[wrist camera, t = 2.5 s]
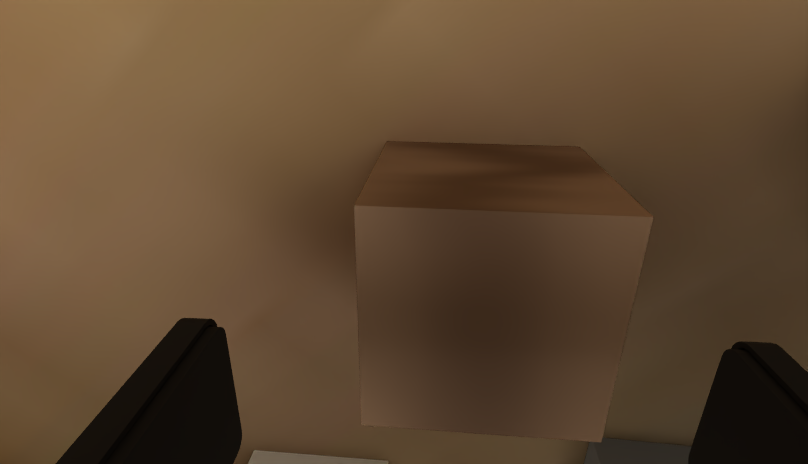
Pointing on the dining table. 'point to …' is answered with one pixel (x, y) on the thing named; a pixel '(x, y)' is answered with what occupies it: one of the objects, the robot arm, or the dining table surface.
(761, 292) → the dining table surface
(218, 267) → the dining table surface
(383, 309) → the walnut cube
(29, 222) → the dining table surface
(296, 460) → the off-white cube
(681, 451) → the base block
